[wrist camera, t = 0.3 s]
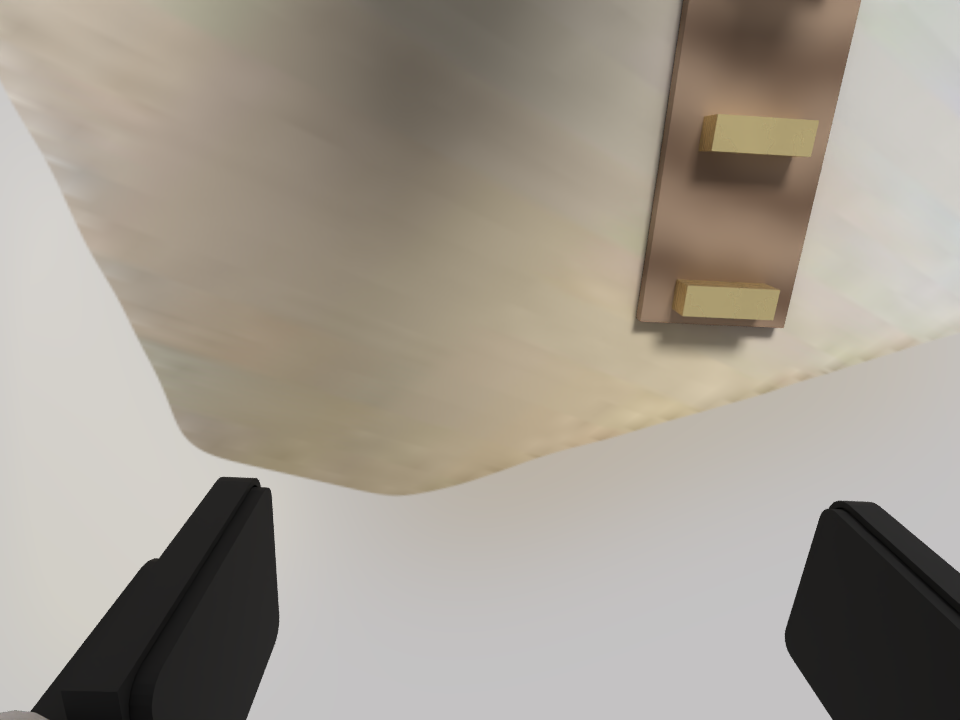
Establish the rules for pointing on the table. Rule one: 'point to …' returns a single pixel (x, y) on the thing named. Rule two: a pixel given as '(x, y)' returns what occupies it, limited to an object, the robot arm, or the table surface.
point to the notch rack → (742, 157)
